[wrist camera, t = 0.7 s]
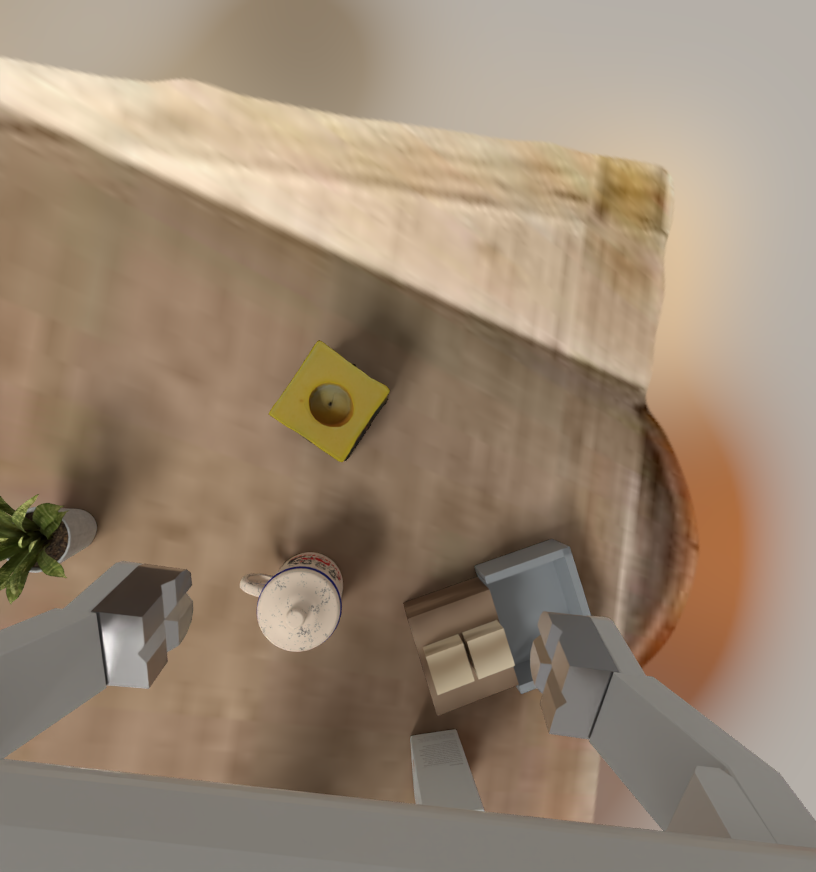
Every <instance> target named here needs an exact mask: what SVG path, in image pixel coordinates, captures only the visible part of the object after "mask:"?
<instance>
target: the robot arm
mask: <svg viewBox="0 0 816 872" xmlns="http://www.w3.org/2000/svg"><path fill="white" fill-rule="evenodd" d="M191 586H192V580H191V573H190V572H189V571H188V570H187V569H179V568H172V567H165V566H158V565H151V564H141V563H134V562H127V561H121V562H118V563H115V564H114V565H113V566H112V567H111V568H109V569H108V570H107V571H106V572H105V573H104V574H103V575H101V576H100V577H99V578H98V579H97V580H96V581H94V582H93V583H92V584H91V585H90V586H89V587H88V588H86V589H85V590H84V591H83V592H82V593H81V594H80V595H78V596H77V597H76V598H75V599H74V600H73V601H72V602H70V603H69V604H68V605H67V606H66V607H65V608H63V609H57V608H55V609H52V610H50V611H47V612H45V613H42V614H40V615H37V616H35V617H32V618H30V619H27V620H25V621H22V622H20V623H17V624H15V625H12V626H10V627H7V628H5V629H2V630H0V872H816V821H815V820H814V818H813V817H812V815H811V814H810V813H809V812H808V810H807V809H806V807H804V805H803V804H802V802H801V801H800V800H799V798H798V797H797V796H796V794H795V793H794V792H793V790H792V789H791V788H790V786H789V785H788V784H787V782H786V781H785V780H784V778H783V777H782V776H781V774H780V773H778V772H777V771H776V770H775V769H773V768H772V767H771V766H769V765H768V764H767V763H765V762H764V761H763V760H761V759H760V758H759V757H758V756H756V755H755V754H753V753H752V752H751V751H750V750H748V749H747V748H746V747H744V746H743V745H742V744H740V743H739V742H738V741H737V740H735V739H734V738H733V737H731V736H730V735H729V734H727V733H726V732H725V731H724V730H722V729H721V728H720V727H718V726H717V725H715V724H714V723H713V722H712V721H710V720H709V719H708V718H706V717H705V716H704V715H702V714H701V713H700V712H698V711H697V710H696V709H695V708H693V707H692V706H691V705H689V704H688V703H687V702H685V701H684V700H683V699H682V698H680V697H679V696H677V695H676V694H675V693H674V692H672V691H671V690H670V689H668V688H667V687H666V686H664V685H663V684H662V683H661V682H659V681H658V680H657V679H655V678H654V677H650V676H646V675H645V673H644V672H643V670H642V668H641V667H640V665H639V663H638V662H637V660H636V658H635V657H634V655H633V654H632V652H631V650H630V649H629V647H628V645H627V644H626V642H625V640H624V639H623V637H622V635H621V634H620V632H619V630H618V629H617V627H616V625H615V624H614V622H613V621H612V620H611V619H610V618H608V617H600V616H589V615H586V616H582V615H573V614H564V613H555V612H546V611H543V612H542V614H541V615H540V617H539V621H538V624H537V626H538V628H539V631H540V634H541V635H539V636H538V637H537V638H536V639H534V640H533V644H532V648H531V652H530V668H531V675H532V679H533V682H534V686H535V687H536V688H537V689H538V690H539V691H540V692H541V693H542V694H543V695H542V698H541V702H540V706H541V709H542V713H543V716H544V719H545V722H546V726H547V729H548V732H549V734H555V735H562V736H569V737H576V738H583V739H590V740H589V742H590V743H591V744H592V746H593V747H594V748H595V749H596V750H597V752H598V753H599V754H600V755H601V756H602V758H603V759H604V760H605V761H606V763H607V764H608V765H609V766H610V767H611V769H612V770H613V771H614V772H615V773H616V775H617V776H618V777H619V778H620V779H621V780H622V782H623V783H624V784H625V785H626V787H627V788H628V789H629V790H630V791H631V793H632V794H633V795H634V796H635V797H636V799H637V800H638V801H639V802H640V803H641V805H642V806H643V807H644V808H645V810H646V811H647V812H648V813H649V814H650V816H651V817H652V818H653V819H654V820H655V821H656V823H657V824H658V825H659V826H660V828H661V829H662V830H663V831H658V830H649V829H639V828H630V827H621V826H612V825H603V824H594V823H585V822H576V821H567V820H557V819H548V818H539V817H530V816H521V815H512V814H503V813H494V812H485V811H475V810H466V809H457V808H448V807H439V806H430V805H421V804H411V803H402V802H393V801H384V800H375V799H366V798H357V797H347V796H338V795H329V794H320V793H311V792H302V791H292V790H283V789H274V788H265V787H256V786H247V785H238V784H229V783H219V782H210V781H201V780H192V779H183V778H174V777H165V776H156V775H147V774H138V773H129V772H120V771H110V770H101V769H92V768H83V767H74V766H65V765H55V764H46V763H37V762H28V761H19V760H9V759H3V758H5V757H6V756H8V755H9V754H10V753H12V752H13V751H15V750H16V749H18V748H19V747H21V746H22V745H24V744H25V743H27V742H28V741H29V740H31V739H32V738H34V737H35V736H37V735H38V734H40V733H41V732H43V731H44V730H45V729H47V728H48V727H50V726H51V725H53V724H54V723H56V722H57V721H59V720H60V719H61V718H63V717H64V716H66V715H67V714H69V713H70V712H72V711H73V710H75V709H76V708H78V707H79V706H80V705H82V704H83V703H85V702H86V701H88V700H89V699H91V698H92V697H94V696H95V695H96V694H98V693H99V692H101V691H102V690H104V689H105V688H106V685H110V686H122V687H135V688H147V689H149V688H150V687H151V685H152V684H153V682H154V681H155V679H156V678H157V676H158V675H159V674H160V672H161V671H162V669H163V668H164V666H165V665H166V664H167V662H168V660H167V652H168V651H170V650H172V649H173V648H175V647H177V646H178V645H180V643H181V642H182V640H183V639H184V637H185V635H186V634H187V631H188V629H189V626H190V623H191V621H192V614H193V601H192V600H191V598H190V597H189V596H188V595H187V593H186V592H187V591H188V590H189V588H190V587H191Z"/></svg>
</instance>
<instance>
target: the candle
mask: <svg viewBox="0 0 816 872" xmlns="http://www.w3.org/2000/svg"><path fill="white" fill-rule="evenodd" d="M389 392H390V390H389V388H388V387H387V386H385V385H383V384H382V383H380V382H378V381H376V380H374V379H372V378H370V377H369V376H368V375H366V374H365V373H364V372H362V371H361V370H359V369H358V368H357V367H356V365H355V364H351V363H350V362H348V361H347V360H345V359H344V358H343V357H342V356H340V355H339V354H338V353H337V352H336V351H334V350H333V349H331V348H330V347H329V346H327V345H326V344H325V343H323V342H322V341H320V340H319V341H317V343H316V344H315V345H314V347H313V348H312V350H311V352H310V353H309V355H308V356H307V358H306V359H305V361H304V362H303V364H302V365H301V367H300V369H299V370H298V372H297V373H296V375H295V376H294V378H293V379H292V381H291V382H290V383H289V385H288V386H287V388H286V389H285V391H284V392H283V394H282V395H281V397H280V398H279V399H278V401H277V402H276V403H275V404H274V406H273V407H272V409H271V411H270V412H269V415H270V416H272V417H273V418H275V419H276V420H278V421H279V422H281V423H282V424H284V425H285V426H286V427H288V428H290V429H292V430H294V431H296V432H297V433H299V434H300V435H301V436H302V437H304V438H305V439H306V440H308V441H309V442H311V443H313V444H314V445H316V446H317V447H318V448H320V449H321V450H323V451H324V452H326V453H327V454H329V455H330V456H332V457H333V458H335V459H336V460H338V461H339V462H343V461H346V460H347V459H348V458H349V457H350V455H351V453H352V452H353V450H354V449H355V448H356V446H357V445H358V443H359V441H360V440H361V439H362V437H363V436H364V434H365V433H366V431H367V430H368V429H369V427H370V426H371V423H372V421H373V420H374V418H375V417H376V416H377V414H378V413H379V411H380V410H381V408H382V407H383V406H384V405H385V404H386V402H387V400H388V398H387V395H389V394H388V393H389Z"/></svg>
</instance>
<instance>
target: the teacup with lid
mask: <svg viewBox="0 0 816 872" xmlns="http://www.w3.org/2000/svg"><path fill="white" fill-rule="evenodd" d="M258 584H262V585H265V586H261V585H258ZM240 588H241V589H242V590H243V591H244V592H246V593H248V594H250V595H253V596H257V597H259V599H258V603H257V619H258V623H259V626H260V628H261V631H262V632H263V634H264V635H265V637H266V638H267V639H268V640H269V641H270V642H271V643H272V644H274V645H275V646H277V647H279V648H281V649H284V650H287V651H293V652H300V651H306V650H310V649H313V648H315V647H317V646H319V645H320V644H322V643H323V642H325V641H326V640H327V639H328V638H329V637H330V636H331V635H332V633H333V632H334V631H335V629H336V627H337V625H338V623H339V620H340V617H341V610H342V603H341V597H342V591H343V579H342V575H341V572H340V570H339V568H338V567H337V565H336V564H335V563H334V562H333V561H332V560H331V559H330V558H328V557H327V556H325V555H322V554H319V553H314V552H306V553H301V554H298V555H296V556H294V557H292V558H290V559H289V560H288V561H287V562H285V563H284V565H283V566H282V567H281V568H280V570H279V571H278V572H277V574H276V575H275V576H271V575H267V574H261V573H252V574H247V575H245V576H244V577H243V578H242V579H241V582H240Z"/></svg>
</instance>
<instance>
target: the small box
mask: <svg viewBox="0 0 816 872" xmlns="http://www.w3.org/2000/svg"><path fill="white" fill-rule="evenodd" d="M410 741H411V756H412V770H413V783H414V794H415V801H416V804H421V805H430V806H439V807H448V808H457V809H466V810H475V811H484V807H483V805H482V802H481V799H480V796H479V793H478V790H477V787H476V785H475V782H474V779H473V776H472V773H471V770H470V767H469V765H468V762H467V759H466V756H465V753H464V750H463V747H462V744H461V741H460V739H459V736H458V733H457V730H456V729H453V730H446V731H440V732H433V733H426V734H419V735H413V736H411V737H410Z"/></svg>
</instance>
